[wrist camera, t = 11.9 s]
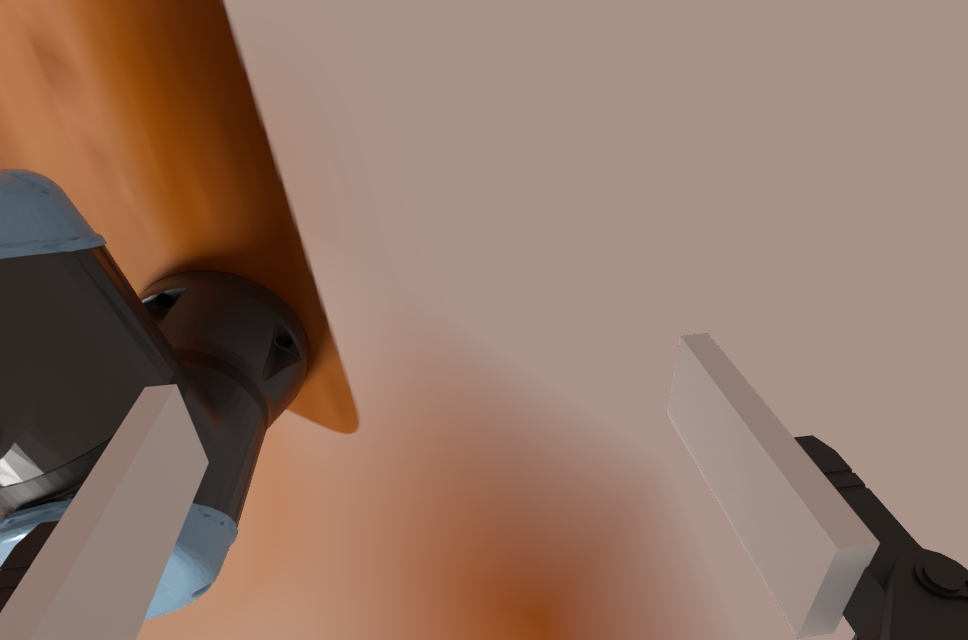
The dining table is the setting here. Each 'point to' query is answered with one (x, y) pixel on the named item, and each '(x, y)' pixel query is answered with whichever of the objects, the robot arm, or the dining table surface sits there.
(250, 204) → the dining table surface
